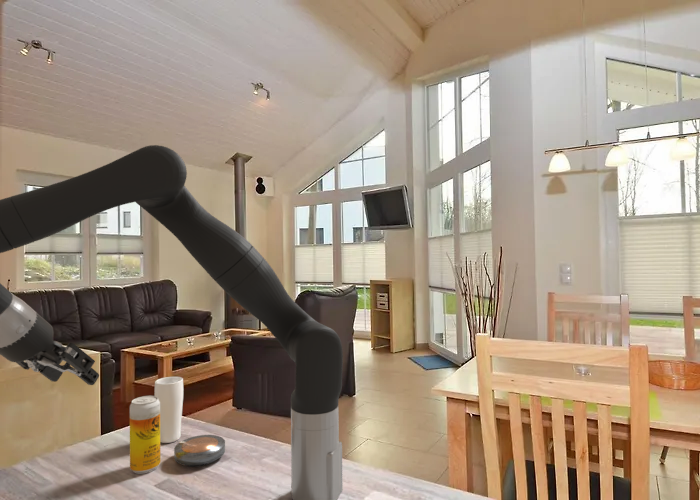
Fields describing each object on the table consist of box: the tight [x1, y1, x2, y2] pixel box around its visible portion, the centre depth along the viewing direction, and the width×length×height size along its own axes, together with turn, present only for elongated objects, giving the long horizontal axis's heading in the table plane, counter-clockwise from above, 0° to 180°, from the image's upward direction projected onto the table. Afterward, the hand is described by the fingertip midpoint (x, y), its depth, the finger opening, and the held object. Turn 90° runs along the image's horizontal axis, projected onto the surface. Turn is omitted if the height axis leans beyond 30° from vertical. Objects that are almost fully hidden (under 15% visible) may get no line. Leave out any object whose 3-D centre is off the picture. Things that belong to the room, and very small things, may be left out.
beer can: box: [129, 395, 161, 475], centre depth 95 cm, size 6×6×15 cm
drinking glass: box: [154, 376, 184, 444], centre depth 109 cm, size 7×7×15 cm
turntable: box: [173, 434, 226, 467], centre depth 99 cm, size 11×11×2 cm
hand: (76, 378), depth 79 cm, fingers open, 8 cm apart
